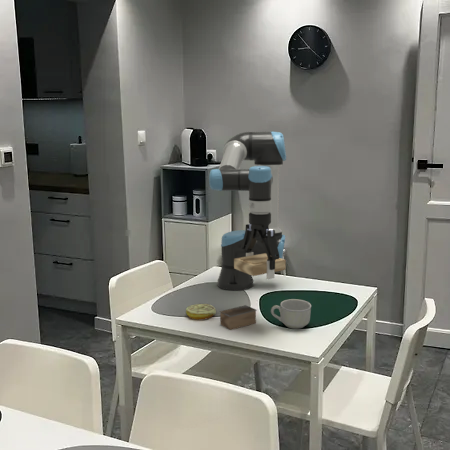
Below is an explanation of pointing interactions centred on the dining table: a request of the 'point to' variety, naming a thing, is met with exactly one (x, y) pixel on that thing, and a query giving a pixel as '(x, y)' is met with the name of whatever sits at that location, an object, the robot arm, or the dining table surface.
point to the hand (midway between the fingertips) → (259, 274)
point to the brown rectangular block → (238, 317)
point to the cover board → (257, 264)
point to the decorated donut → (200, 311)
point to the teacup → (293, 313)
